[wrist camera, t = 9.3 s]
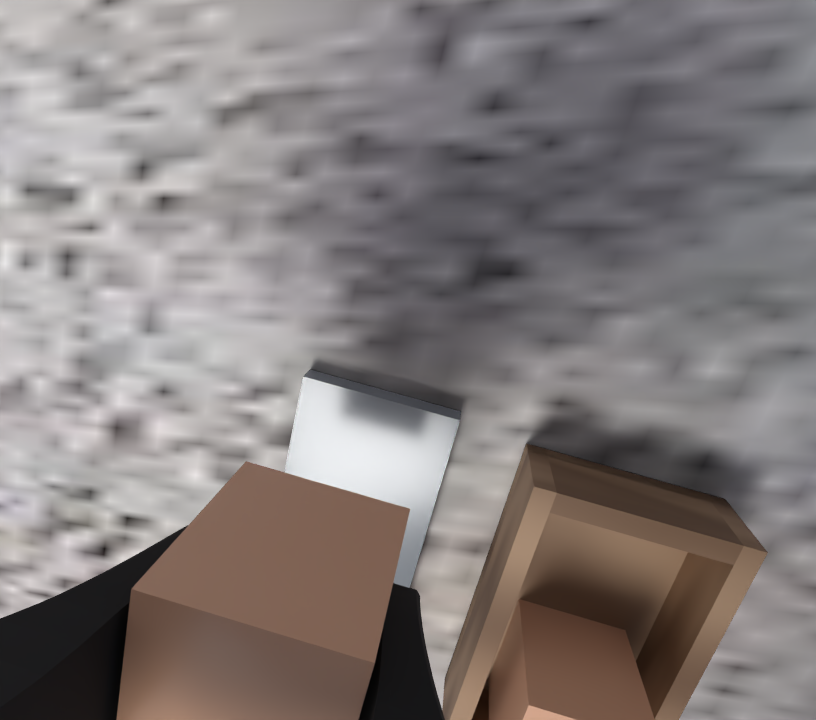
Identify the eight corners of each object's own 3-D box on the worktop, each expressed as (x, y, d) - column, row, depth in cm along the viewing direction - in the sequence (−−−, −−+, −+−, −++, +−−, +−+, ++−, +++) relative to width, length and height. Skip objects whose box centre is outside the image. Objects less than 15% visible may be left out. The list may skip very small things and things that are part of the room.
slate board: (383, 670, 23) (380, 686, 22) (257, 631, 23) (249, 646, 23) (460, 411, 19) (459, 420, 19) (310, 369, 20) (303, 376, 19)
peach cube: (588, 710, 22) (614, 837, 17) (488, 679, 22) (490, 798, 18) (625, 630, 20) (663, 746, 16) (519, 598, 21) (529, 705, 16)
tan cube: (371, 642, 14) (324, 837, 10) (222, 597, 14) (110, 768, 10) (410, 508, 13) (374, 662, 9) (246, 461, 13) (131, 589, 9)
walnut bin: (612, 729, 22) (631, 807, 20) (444, 679, 23) (439, 747, 20) (725, 499, 19) (767, 552, 16) (526, 443, 19) (533, 486, 17)
